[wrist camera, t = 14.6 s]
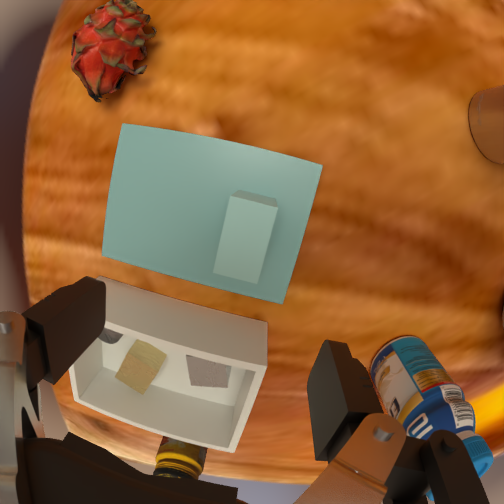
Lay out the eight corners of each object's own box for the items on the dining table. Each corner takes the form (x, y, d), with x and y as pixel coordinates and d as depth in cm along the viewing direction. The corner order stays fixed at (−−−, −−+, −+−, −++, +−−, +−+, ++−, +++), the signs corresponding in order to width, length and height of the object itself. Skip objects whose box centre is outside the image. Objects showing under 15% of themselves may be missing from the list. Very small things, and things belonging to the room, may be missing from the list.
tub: (267, 322, 32) (267, 366, 24) (239, 407, 36) (233, 453, 28) (100, 275, 32) (62, 303, 24) (100, 365, 35) (74, 400, 28)
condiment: (172, 396, 36) (146, 463, 24) (232, 412, 36) (221, 483, 25) (167, 426, 38) (146, 487, 26) (221, 441, 38) (211, 504, 27)
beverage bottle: (432, 362, 33) (501, 467, 14) (381, 394, 34) (426, 513, 15) (416, 320, 31) (505, 435, 12) (357, 358, 33) (410, 496, 14)
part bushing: (135, 303, 31) (120, 320, 27) (134, 330, 32) (120, 347, 28) (108, 295, 31) (91, 310, 27) (108, 321, 32) (92, 337, 28)
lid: (321, 165, 28) (340, 164, 20) (282, 300, 32) (285, 340, 24) (126, 124, 27) (86, 114, 20) (105, 253, 31) (66, 276, 24)
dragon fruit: (154, 12, 24) (130, 104, 29) (86, 5, 20) (61, 101, 25) (174, -9, 18) (143, 105, 23) (87, -20, 13) (53, 101, 18)
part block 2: (229, 337, 32) (225, 358, 28) (231, 365, 33) (227, 387, 29) (194, 336, 32) (185, 356, 28) (198, 364, 33) (190, 385, 29)
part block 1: (167, 354, 33) (158, 372, 30) (151, 377, 34) (142, 395, 31) (138, 336, 33) (127, 352, 29) (125, 361, 34) (114, 377, 30)
